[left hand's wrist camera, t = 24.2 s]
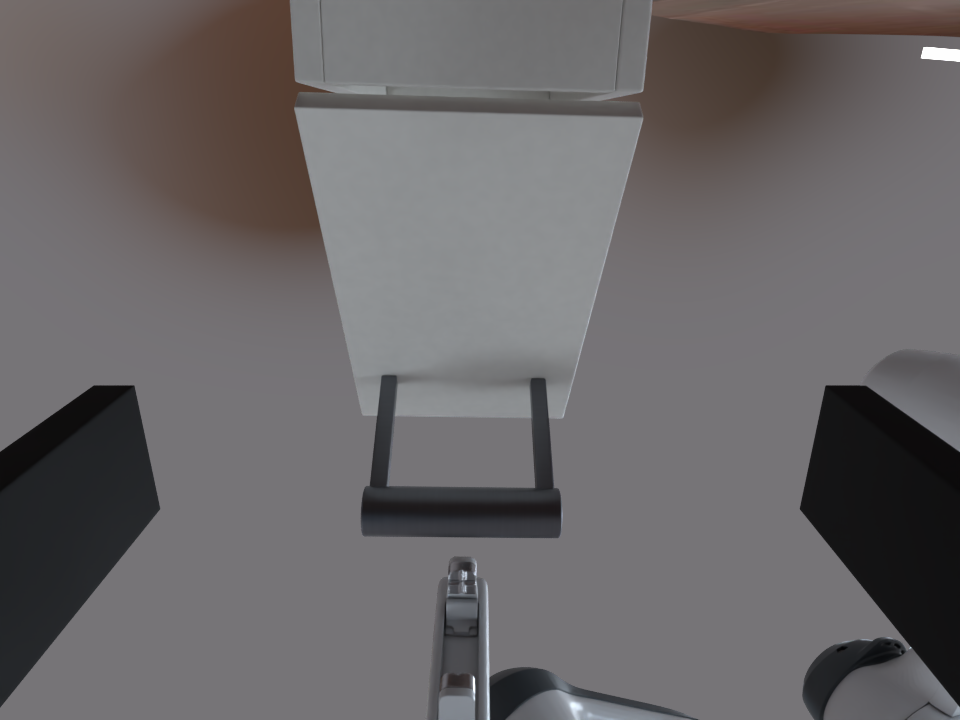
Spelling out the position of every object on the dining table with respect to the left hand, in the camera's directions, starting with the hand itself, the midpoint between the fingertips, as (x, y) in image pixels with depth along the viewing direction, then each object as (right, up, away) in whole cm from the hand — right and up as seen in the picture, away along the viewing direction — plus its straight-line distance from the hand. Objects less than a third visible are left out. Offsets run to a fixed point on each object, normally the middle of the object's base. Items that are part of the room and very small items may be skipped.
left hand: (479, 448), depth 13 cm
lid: (-1, +5, +13) cm, 14 cm away
